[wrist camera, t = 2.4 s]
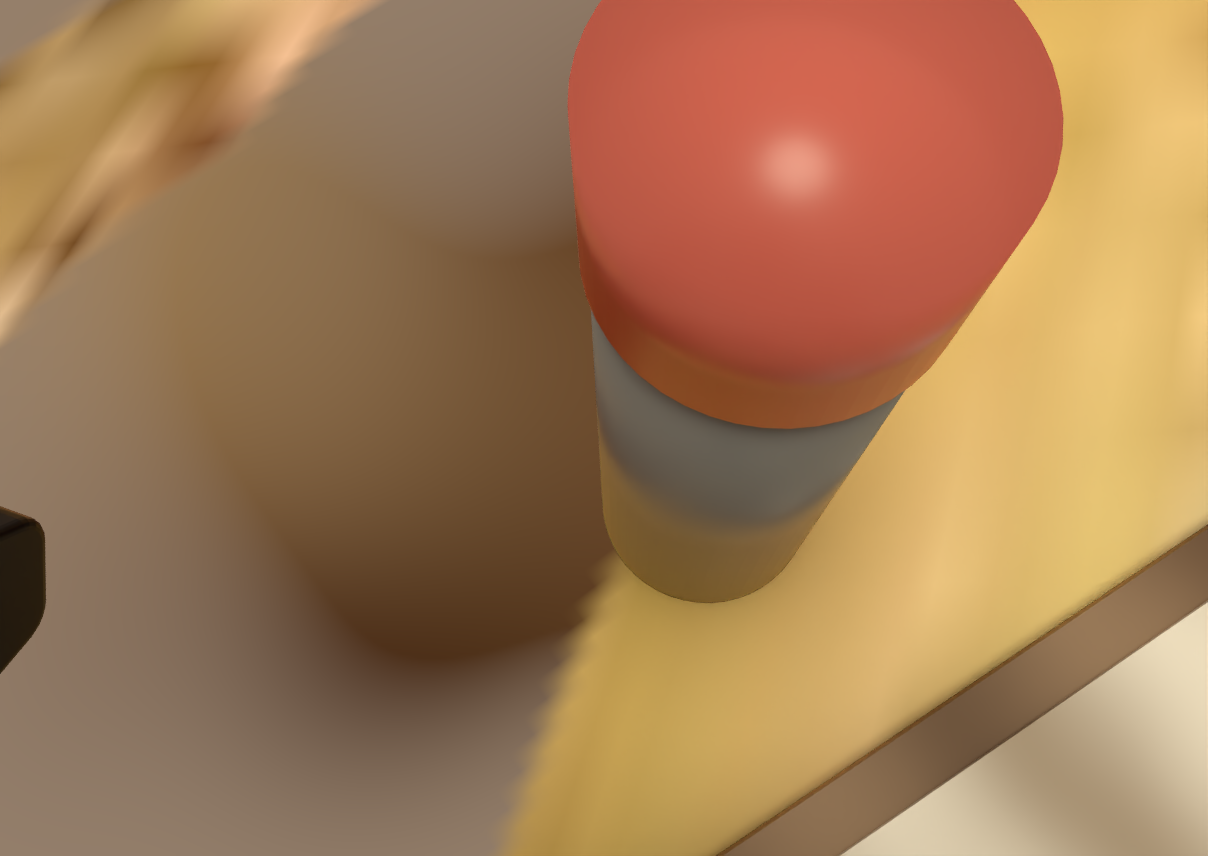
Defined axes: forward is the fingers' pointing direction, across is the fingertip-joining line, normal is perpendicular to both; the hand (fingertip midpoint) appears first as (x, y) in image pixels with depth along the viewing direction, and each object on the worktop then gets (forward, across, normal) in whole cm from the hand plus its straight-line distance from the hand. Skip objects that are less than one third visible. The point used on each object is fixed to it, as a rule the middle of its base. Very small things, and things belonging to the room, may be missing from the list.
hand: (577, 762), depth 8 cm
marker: (+12, 0, +4) cm, 13 cm away
